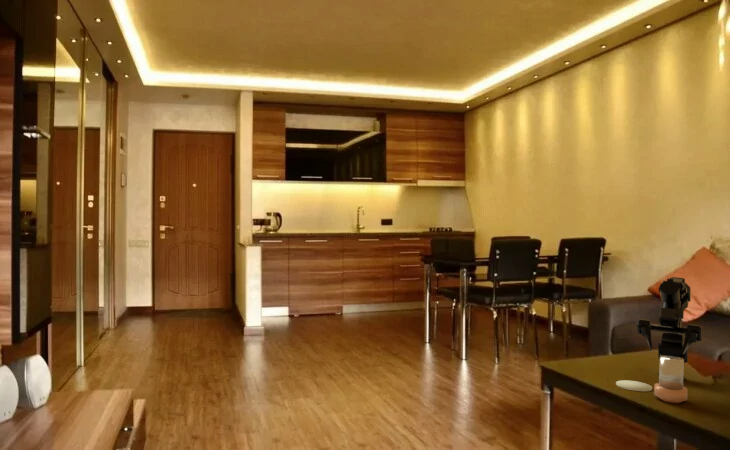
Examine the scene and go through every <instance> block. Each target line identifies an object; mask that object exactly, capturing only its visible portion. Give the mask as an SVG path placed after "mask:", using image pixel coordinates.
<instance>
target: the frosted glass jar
mask: <svg viewBox="0 0 730 450" xmlns="http://www.w3.org/2000/svg"><path fill="white" fill-rule="evenodd" d="M684 364H685V363H684V359H682V358H679V357H674V356H660V359H659V366H658V367H659V368H658V369H659V370H658V373H659V375H658V383H659V386H660V387H662V388H665V389H670V390H683V387H684V379H683V377H684V370H685V369H684V367H685V365H684Z"/></svg>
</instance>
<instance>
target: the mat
mask: <svg viewBox="0 0 730 450" xmlns="http://www.w3.org/2000/svg"><path fill="white" fill-rule="evenodd" d="M615 385H616V387H619V388H621V389H624V390H628V391H632V392H645V393H646V392H651V391H653V386H652V385H650V384H648V383H645V382H641V381H637V380H627V379H626V380H625V379H624V380H622V379H621V380H617V381H615Z"/></svg>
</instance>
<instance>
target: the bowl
mask: <svg viewBox="0 0 730 450" xmlns="http://www.w3.org/2000/svg"><path fill="white" fill-rule="evenodd" d="M653 387H654V390H653V391H654V392H653V394H654V395H653V396H655V397H657V398H659V400H661V401H663V402H665V403H666V402H667V403H672V404H680V403H682V402H685V401H687V400H688V388H687V387H686V386H683V390H670V389H665V388H662V387H660V386H659V382H657V383H654V386H653Z"/></svg>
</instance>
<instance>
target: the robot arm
mask: <svg viewBox="0 0 730 450" xmlns="http://www.w3.org/2000/svg"><path fill="white" fill-rule="evenodd" d="M691 291H692V289H691V287H690V285H688V283H687V282H686V278H684V277H677V276H676V277H675V276H672V277H669V278H667V279H666V280H662V283H660V284H659V287H658V294H660V301H661V306H660V308H659V315H658V323H659V324H656V323H655V324H653V323H652V322H651V319H643V318H639V319H638V320H637V321H636V327H637V329H636V330H637V333H638V334H639V335H641V336H642V337H643V338H644V337H645V339H646V341H647V344H648V346H649V347H648V348H649V351H653V350H652V349H653V340H652V337H653V336H652V331H656V332H662V334H661V335H662V336H661V339H660V342H658V346H657V349H658V351H657V352H658V353H657V355H658V357H657V358H658V360H660V356H674V357H679V358H682V359H684V364H685V363H688V357H689V356H688V355H689V354H688V349H689V347H690V346H691V345H692V344H694V343H697V342H701V341H702V326H701V325H700V324H689V323H687V326H686V327H682V321H683V319H684V313H685V310H686V309H687V308H688V307H689V303H690V302H691V300H692V299H691V298H692V292H691ZM683 335H685V336H684V338H683ZM657 375H658V376H659V372H658V373H657ZM683 380H686V377H685V376H683Z"/></svg>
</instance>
